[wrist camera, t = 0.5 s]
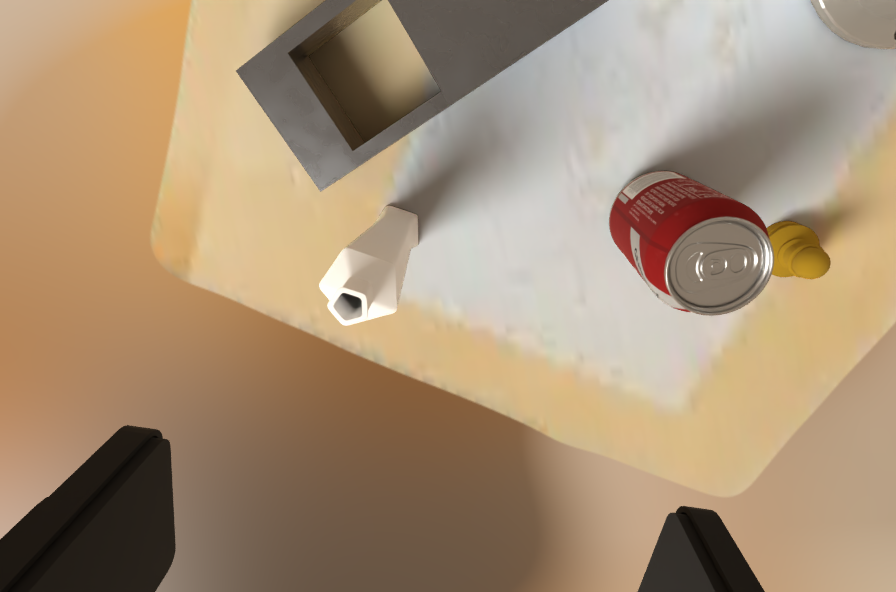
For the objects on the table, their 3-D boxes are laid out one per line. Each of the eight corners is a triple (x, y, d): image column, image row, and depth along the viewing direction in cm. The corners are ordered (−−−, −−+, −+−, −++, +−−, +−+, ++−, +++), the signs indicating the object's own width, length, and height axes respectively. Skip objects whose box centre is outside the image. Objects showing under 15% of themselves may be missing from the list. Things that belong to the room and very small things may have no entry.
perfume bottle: (438, 236, 41) (412, 316, 27) (394, 266, 42) (347, 358, 28) (402, 188, 39) (355, 246, 25) (358, 220, 40) (290, 293, 27)
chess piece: (794, 209, 38) (836, 227, 33) (818, 251, 39) (862, 274, 34) (743, 241, 39) (777, 263, 34) (768, 281, 40) (804, 306, 35)
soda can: (604, 176, 38) (651, 216, 27) (701, 161, 37) (791, 195, 26) (609, 264, 40) (654, 332, 29) (700, 251, 39) (783, 317, 28)
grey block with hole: (537, -141, 31) (544, -172, 27) (604, 3, 34) (618, -7, 30) (261, 71, 37) (235, 70, 33) (336, 181, 39) (320, 191, 36)
